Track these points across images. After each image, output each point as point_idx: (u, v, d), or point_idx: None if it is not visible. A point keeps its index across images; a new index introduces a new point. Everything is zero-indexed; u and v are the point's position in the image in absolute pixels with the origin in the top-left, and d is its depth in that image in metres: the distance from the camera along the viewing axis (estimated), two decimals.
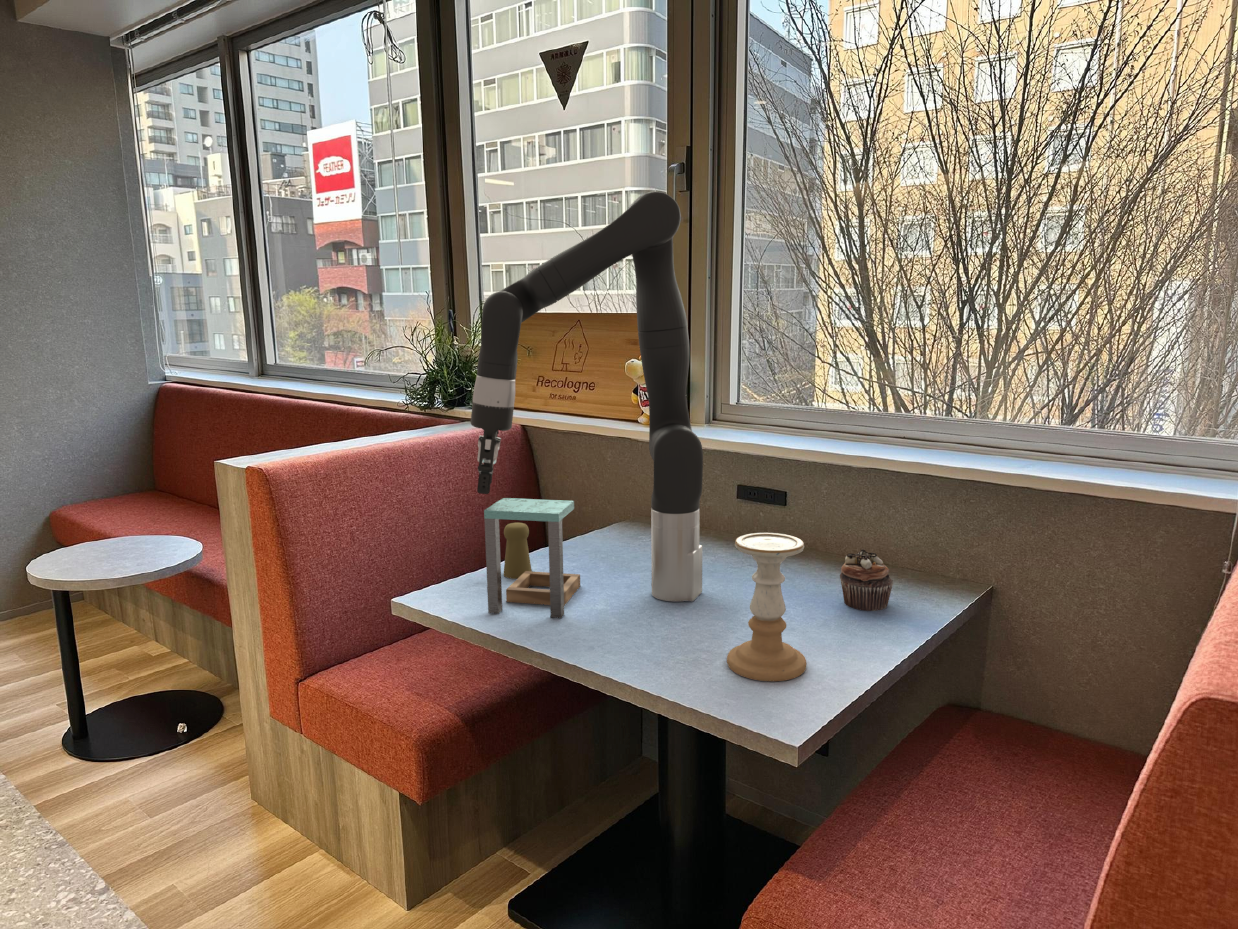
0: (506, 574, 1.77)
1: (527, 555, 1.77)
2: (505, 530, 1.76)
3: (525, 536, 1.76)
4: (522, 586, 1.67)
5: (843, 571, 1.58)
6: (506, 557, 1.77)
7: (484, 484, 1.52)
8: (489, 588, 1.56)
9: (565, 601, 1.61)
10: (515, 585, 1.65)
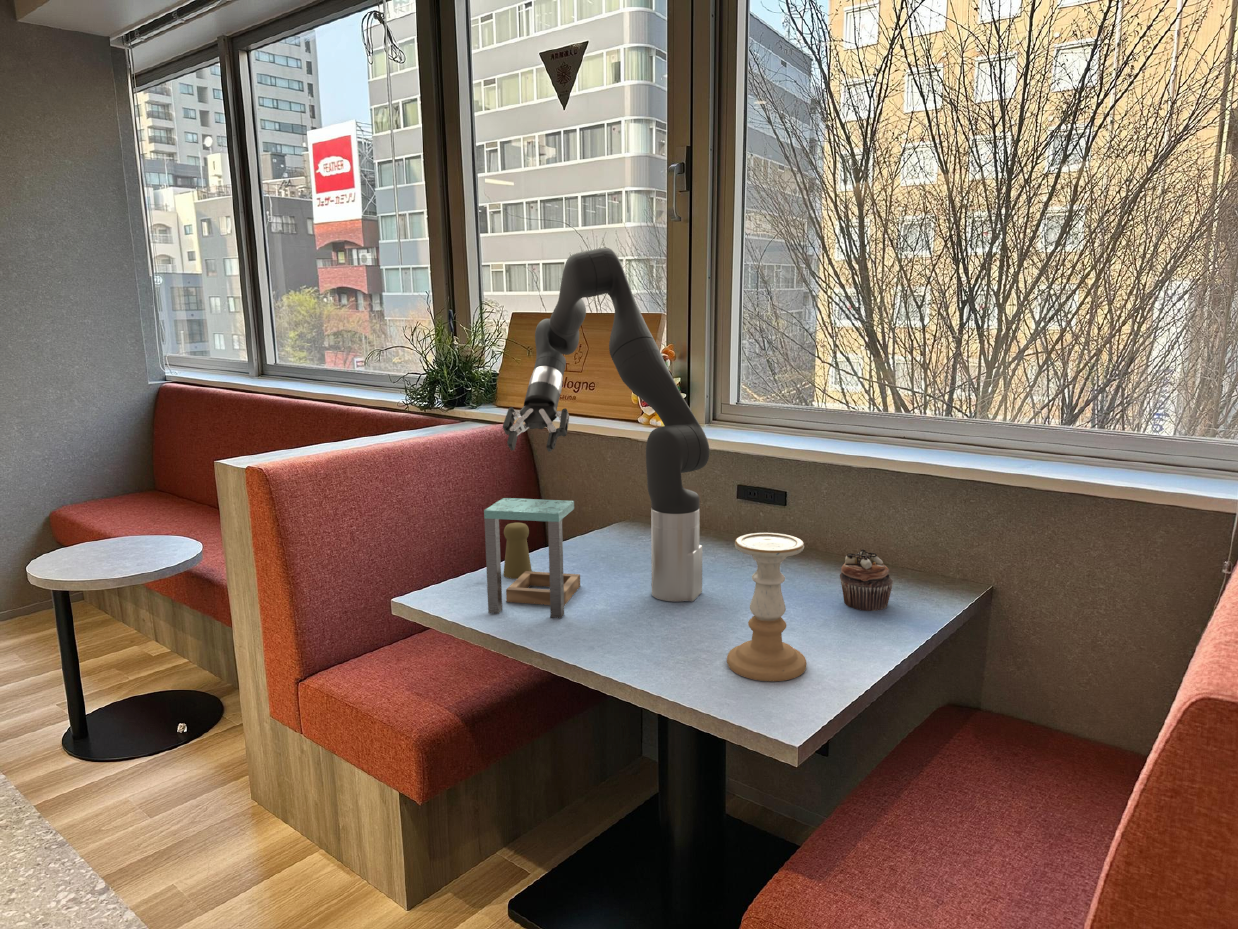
0: (506, 574, 1.77)
1: (527, 555, 1.77)
2: (505, 530, 1.76)
3: (525, 536, 1.76)
4: (522, 586, 1.67)
5: (843, 571, 1.58)
6: (506, 557, 1.77)
7: None
8: (489, 588, 1.56)
9: (565, 601, 1.61)
10: (515, 585, 1.65)
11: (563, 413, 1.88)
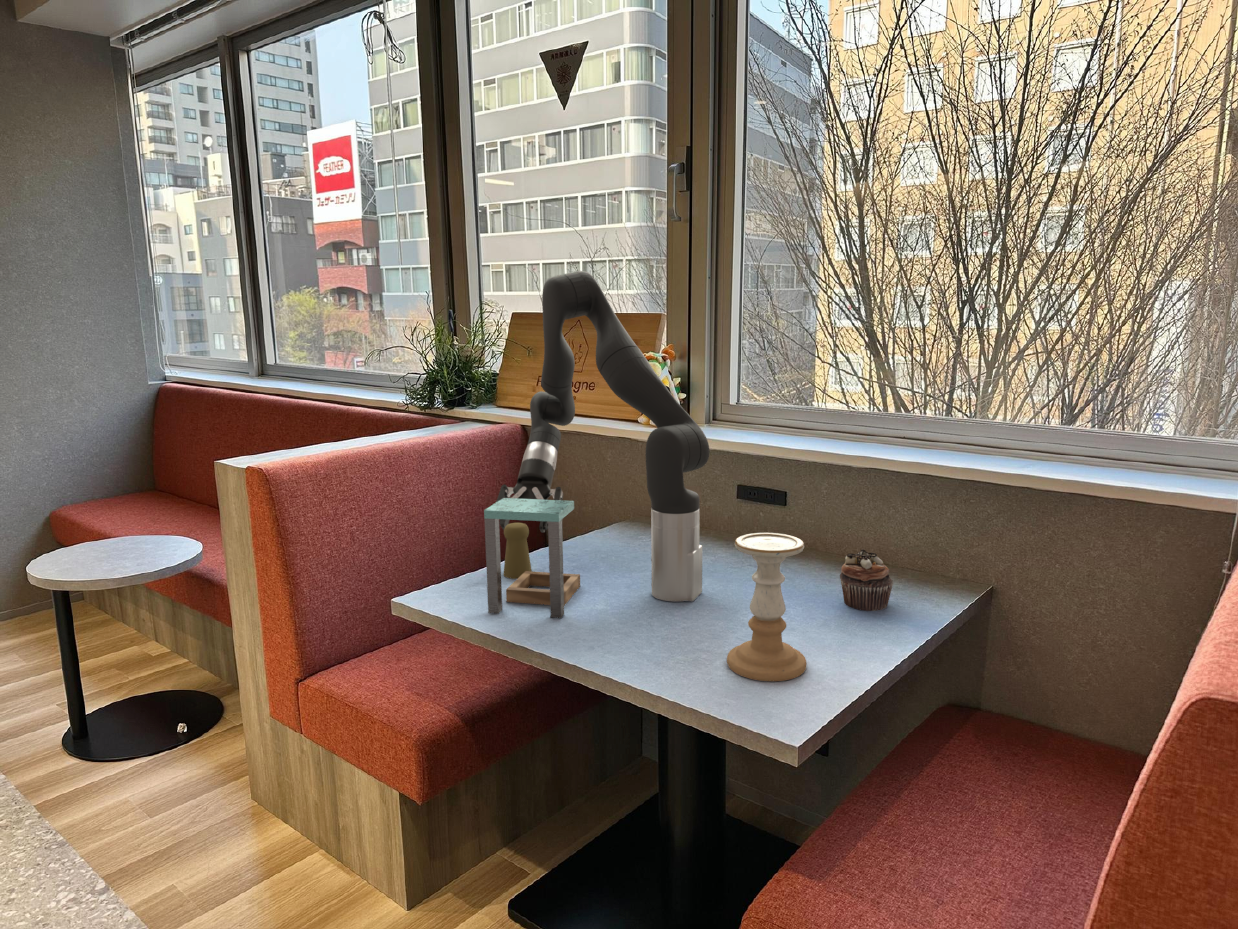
0: (506, 574, 1.77)
1: (527, 555, 1.77)
2: (505, 530, 1.76)
3: (525, 536, 1.76)
4: (522, 586, 1.67)
5: (843, 571, 1.58)
6: (506, 557, 1.77)
7: None
8: (489, 588, 1.56)
9: (565, 601, 1.61)
10: (515, 585, 1.65)
11: (557, 492, 1.84)
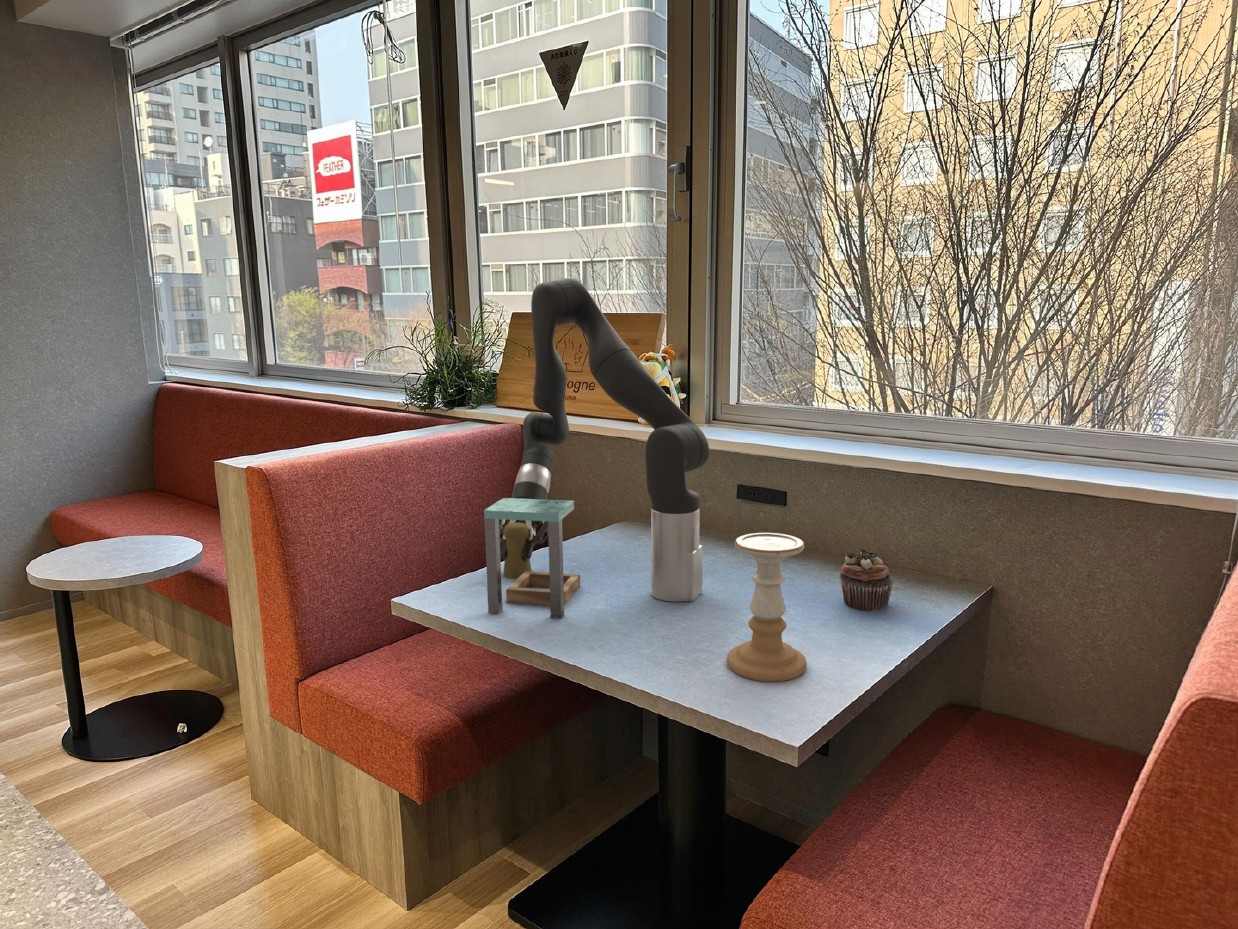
0: (506, 574, 1.77)
1: None
2: (505, 530, 1.76)
3: (525, 536, 1.76)
4: (522, 586, 1.67)
5: (843, 571, 1.58)
6: (506, 557, 1.77)
7: None
8: (489, 588, 1.56)
9: (565, 601, 1.61)
10: (515, 585, 1.65)
11: None
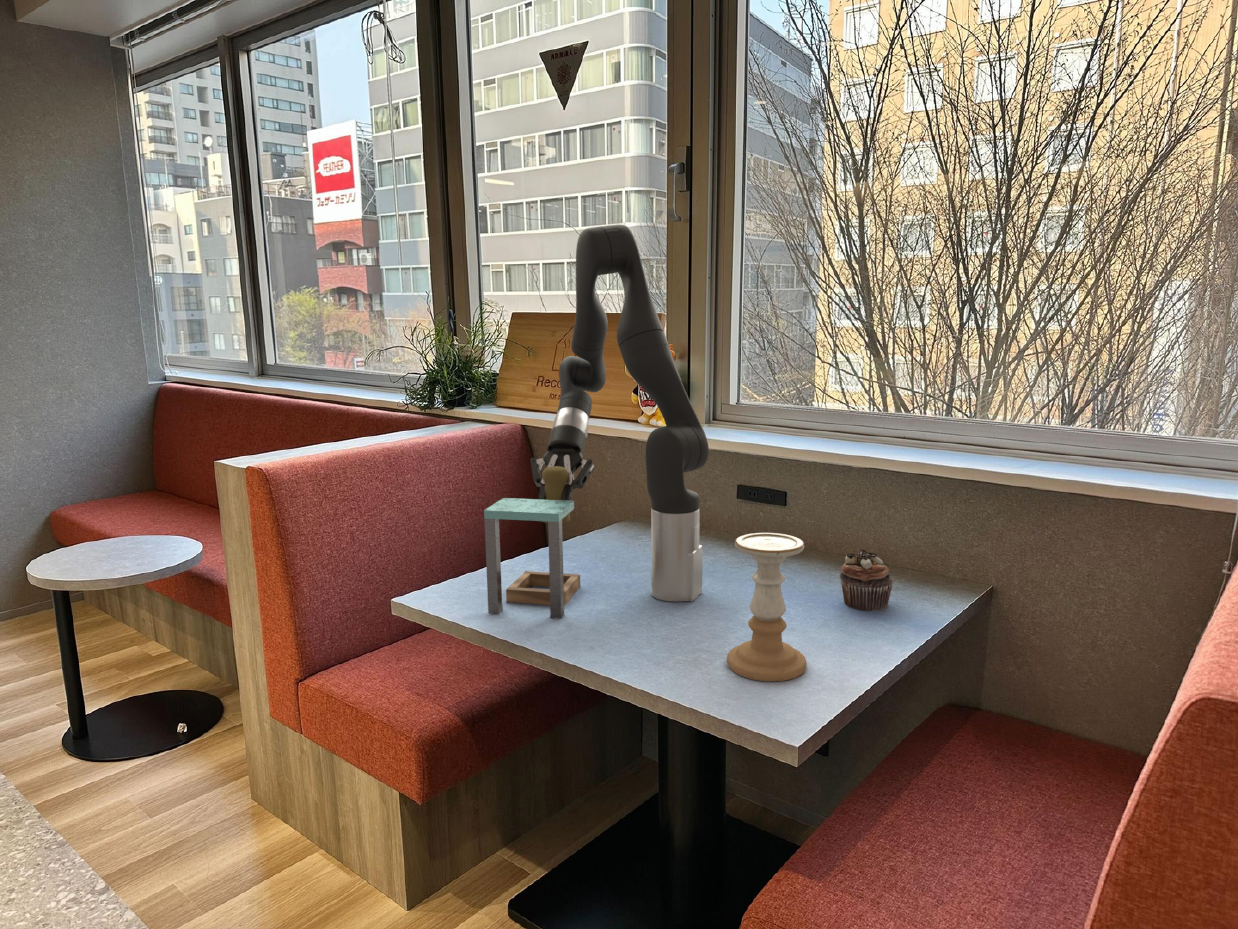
0: None
1: None
2: (544, 473, 1.70)
3: (564, 480, 1.70)
4: (522, 586, 1.67)
5: (843, 571, 1.58)
6: None
7: None
8: (489, 588, 1.56)
9: (565, 601, 1.61)
10: (515, 585, 1.65)
11: (586, 464, 1.73)
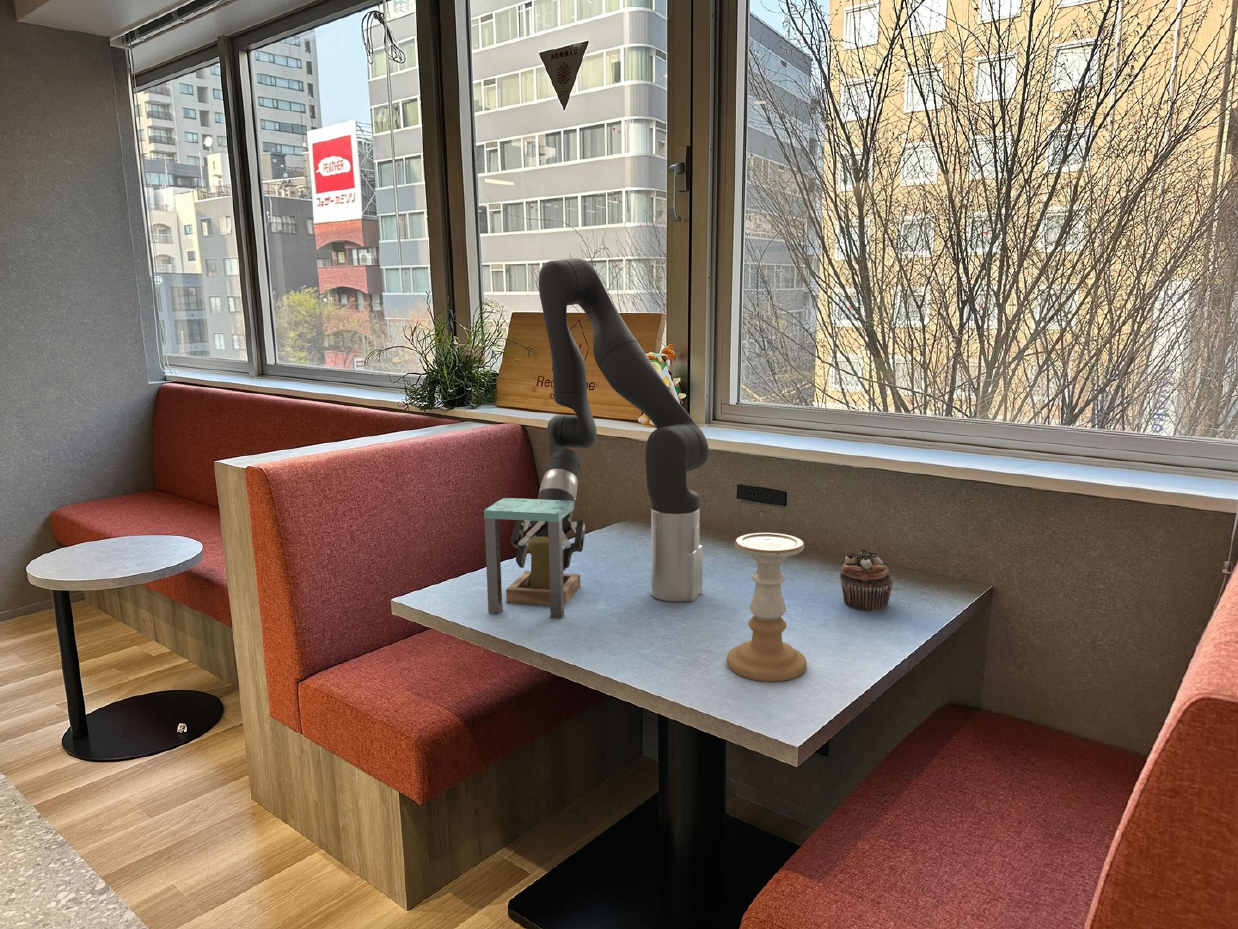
0: None
1: None
2: (529, 546, 1.64)
3: None
4: (522, 586, 1.67)
5: (843, 571, 1.58)
6: (532, 574, 1.66)
7: None
8: (489, 588, 1.56)
9: (565, 601, 1.61)
10: (515, 585, 1.65)
11: (578, 525, 1.67)
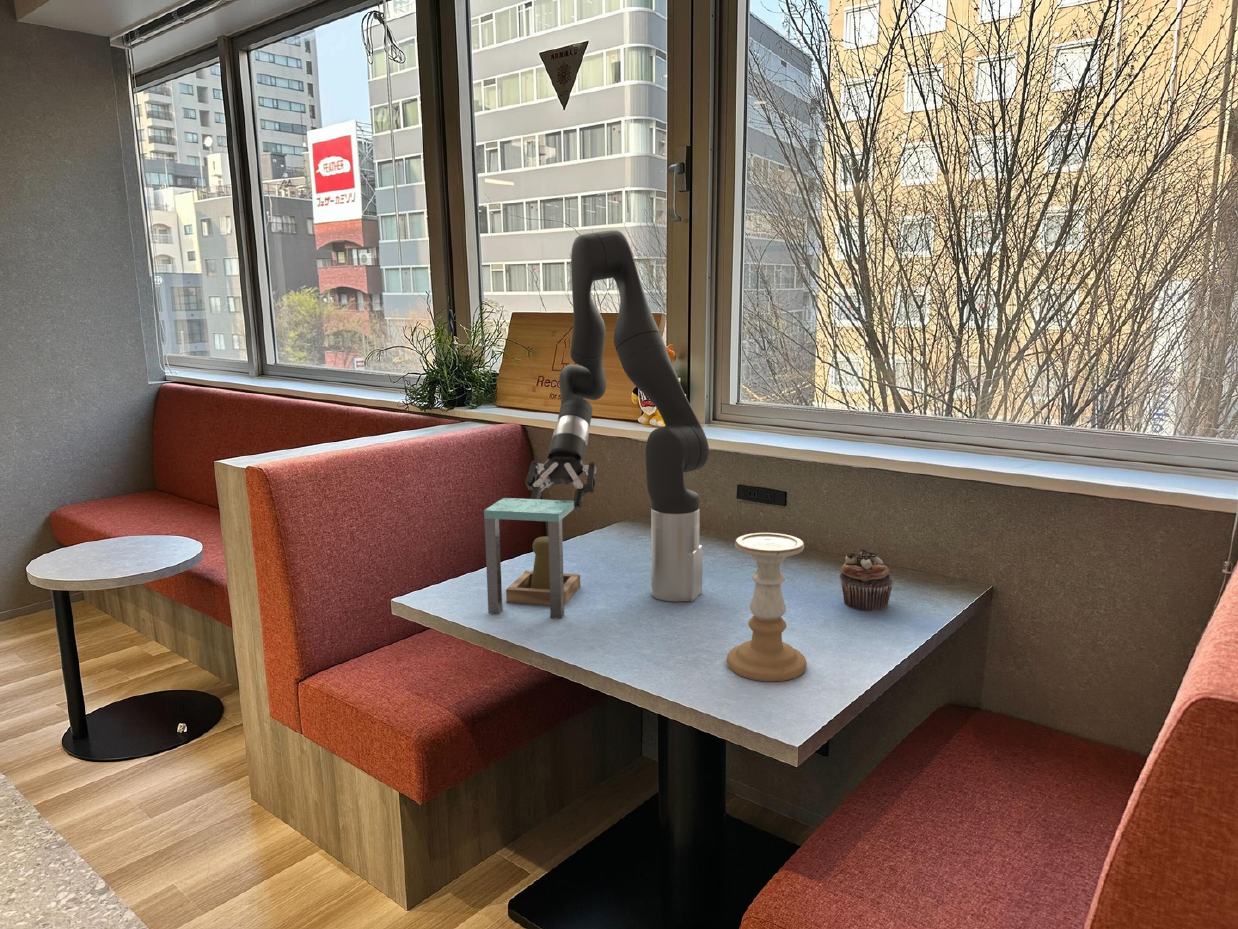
0: None
1: None
2: (534, 544, 1.65)
3: None
4: (522, 586, 1.67)
5: (843, 571, 1.57)
6: (534, 573, 1.66)
7: None
8: (489, 588, 1.56)
9: (565, 601, 1.61)
10: (515, 585, 1.65)
11: (590, 467, 1.75)
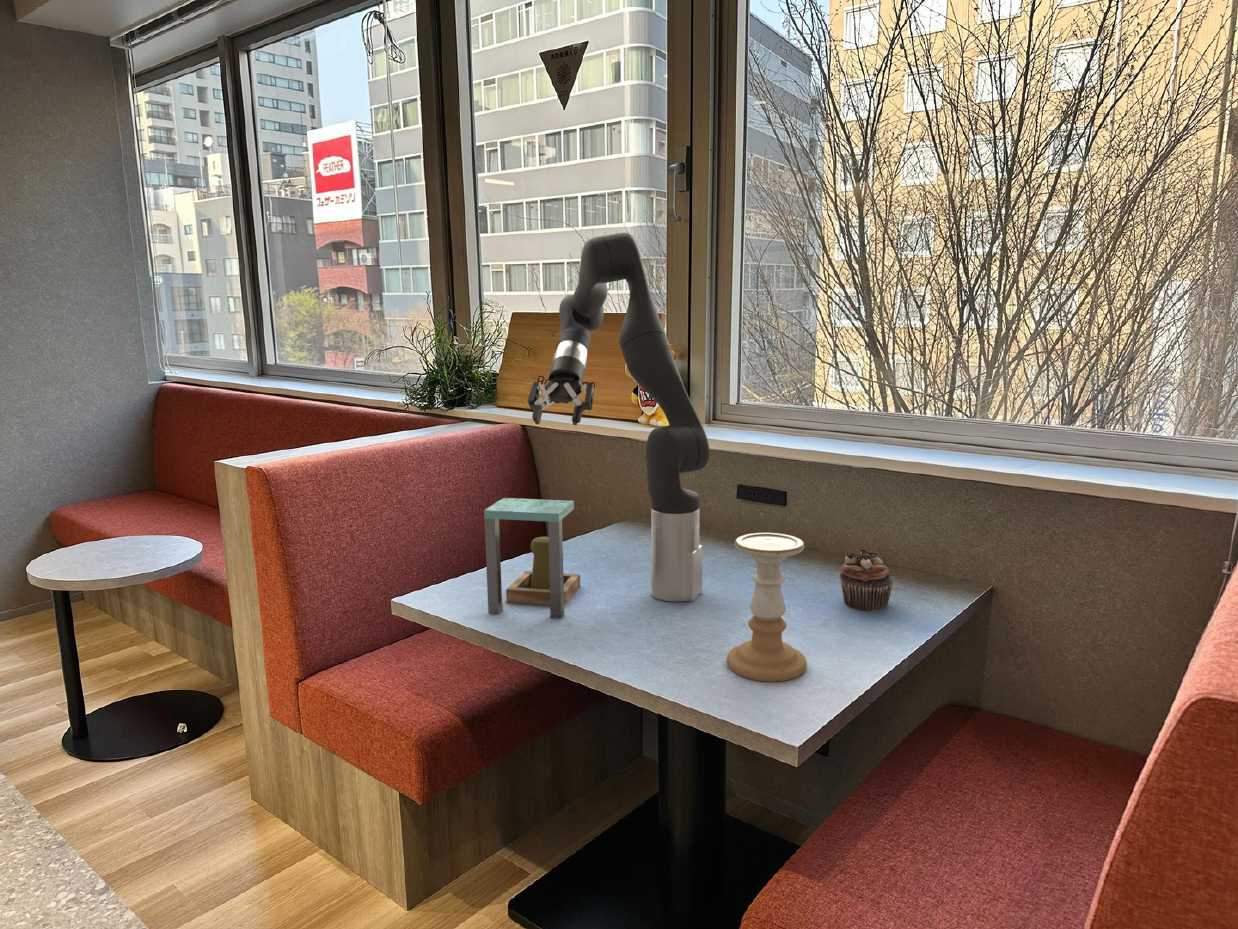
0: None
1: None
2: (532, 544, 1.65)
3: None
4: (522, 586, 1.67)
5: (843, 571, 1.58)
6: (533, 573, 1.66)
7: None
8: (489, 588, 1.56)
9: (565, 601, 1.61)
10: (515, 585, 1.65)
11: (588, 387, 1.86)
